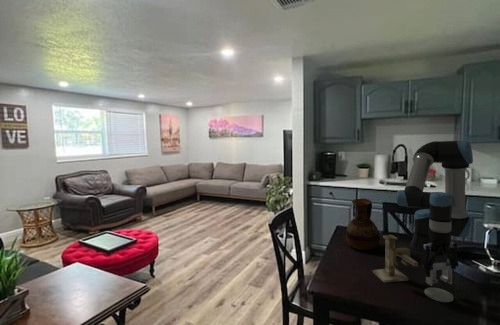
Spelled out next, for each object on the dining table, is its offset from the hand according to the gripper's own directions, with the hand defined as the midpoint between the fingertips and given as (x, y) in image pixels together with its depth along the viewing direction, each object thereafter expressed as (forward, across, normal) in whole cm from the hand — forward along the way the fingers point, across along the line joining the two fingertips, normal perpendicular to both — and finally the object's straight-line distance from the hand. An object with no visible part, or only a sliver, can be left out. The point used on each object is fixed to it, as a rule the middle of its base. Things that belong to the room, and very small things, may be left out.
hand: (438, 283), depth 113 cm
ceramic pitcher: (+5, +4, -55) cm, 55 cm away
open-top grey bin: (-1, 0, 0) cm, 1 cm away
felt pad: (+5, 0, 0) cm, 5 cm away
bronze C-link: (-4, +10, -11) cm, 15 cm away
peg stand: (+5, +10, -12) cm, 16 cm away
